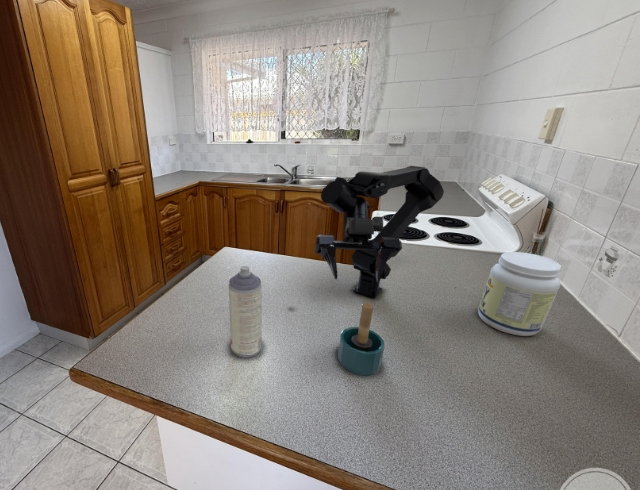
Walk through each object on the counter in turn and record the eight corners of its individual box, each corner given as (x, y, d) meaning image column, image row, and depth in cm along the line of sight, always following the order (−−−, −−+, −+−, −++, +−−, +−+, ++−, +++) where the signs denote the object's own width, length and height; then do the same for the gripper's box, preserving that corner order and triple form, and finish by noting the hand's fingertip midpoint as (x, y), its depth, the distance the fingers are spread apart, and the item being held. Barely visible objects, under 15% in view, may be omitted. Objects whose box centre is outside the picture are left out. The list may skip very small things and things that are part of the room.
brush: (353, 349, 68) (361, 298, 63) (372, 357, 66) (381, 304, 61) (345, 359, 65) (353, 306, 60) (365, 367, 63) (374, 313, 58)
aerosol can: (255, 335, 74) (255, 259, 66) (265, 354, 68) (266, 273, 60) (228, 340, 72) (224, 263, 65) (234, 360, 66) (232, 277, 59)
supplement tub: (481, 303, 85) (501, 246, 78) (541, 321, 77) (568, 259, 70) (471, 322, 77) (491, 260, 70) (537, 345, 69) (566, 278, 62)
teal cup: (347, 342, 71) (350, 322, 69) (385, 358, 66) (390, 337, 64) (331, 362, 65) (333, 341, 63) (371, 382, 60) (375, 359, 58)
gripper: (319, 201, 70) (318, 266, 65) (407, 203, 67) (414, 271, 62) (315, 224, 81) (313, 281, 75) (391, 226, 78) (396, 287, 72)
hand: (357, 280), depth 71 cm, fingers open, 9 cm apart
